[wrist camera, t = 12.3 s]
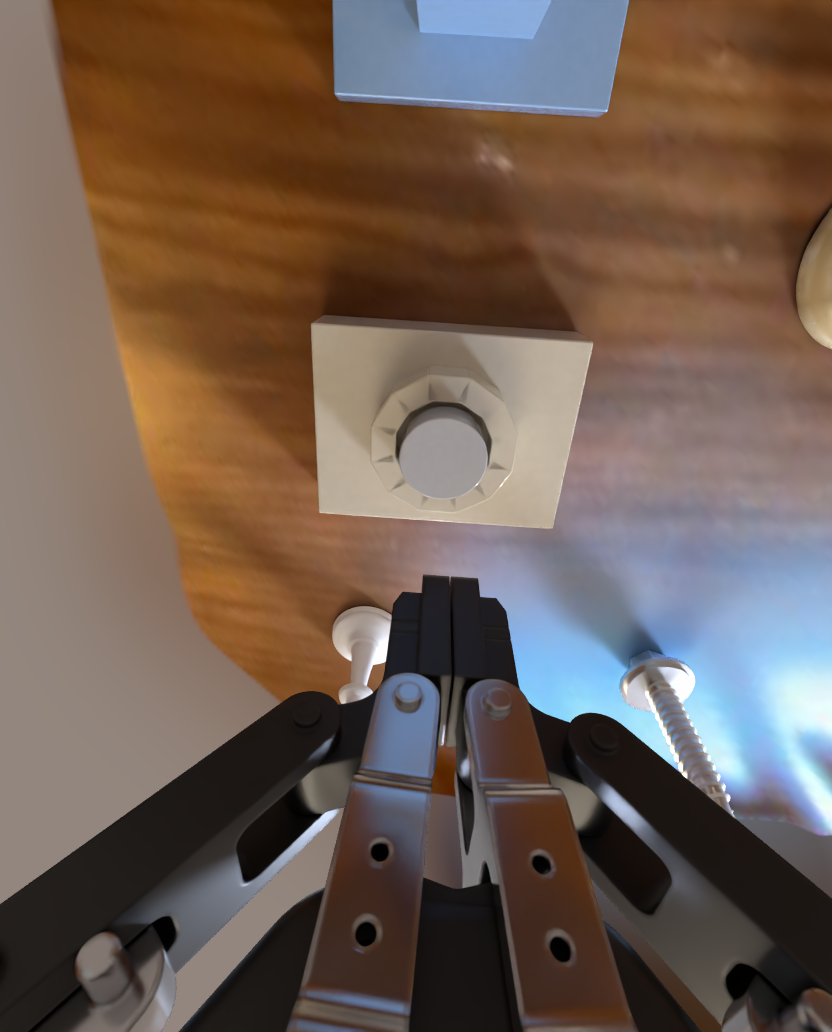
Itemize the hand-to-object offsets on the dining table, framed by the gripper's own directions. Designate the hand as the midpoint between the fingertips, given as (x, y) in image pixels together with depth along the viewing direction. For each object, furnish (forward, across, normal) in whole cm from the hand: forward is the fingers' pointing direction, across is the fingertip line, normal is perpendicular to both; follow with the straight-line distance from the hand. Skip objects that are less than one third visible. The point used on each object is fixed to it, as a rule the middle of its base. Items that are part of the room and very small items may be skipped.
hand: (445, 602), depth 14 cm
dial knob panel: (+16, 0, 0) cm, 16 cm away
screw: (+16, -16, +17) cm, 28 cm away
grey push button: (+12, 0, 0) cm, 12 cm away
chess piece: (+16, +4, +16) cm, 23 cm away
